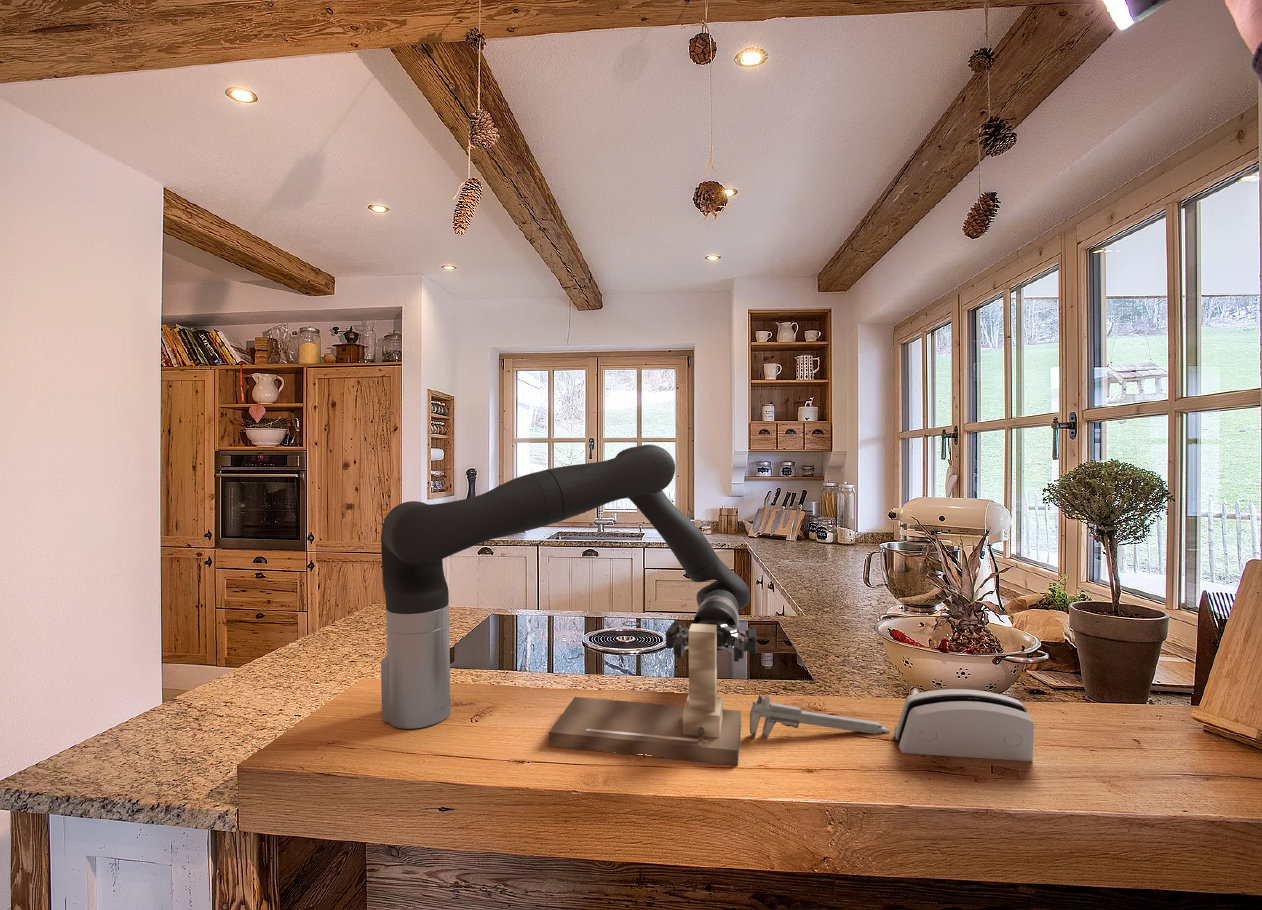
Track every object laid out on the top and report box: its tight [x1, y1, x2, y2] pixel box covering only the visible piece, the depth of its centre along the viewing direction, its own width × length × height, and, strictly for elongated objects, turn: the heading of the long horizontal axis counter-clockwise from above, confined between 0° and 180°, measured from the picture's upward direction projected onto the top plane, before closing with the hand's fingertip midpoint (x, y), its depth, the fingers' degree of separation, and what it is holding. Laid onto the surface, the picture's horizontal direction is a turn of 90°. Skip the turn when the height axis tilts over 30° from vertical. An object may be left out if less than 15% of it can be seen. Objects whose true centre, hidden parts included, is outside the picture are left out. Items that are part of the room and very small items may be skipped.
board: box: [548, 696, 742, 766], centre depth 89 cm, size 26×12×2 cm, turn 78°
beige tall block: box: [683, 623, 723, 738], centre depth 87 cm, size 5×7×14 cm
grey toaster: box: [893, 688, 1035, 762], centre depth 83 cm, size 17×5×10 cm, turn 82°
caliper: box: [749, 693, 891, 739], centre depth 89 cm, size 20×1×6 cm, turn 94°
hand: (707, 653), depth 92 cm, fingers open, 8 cm apart
